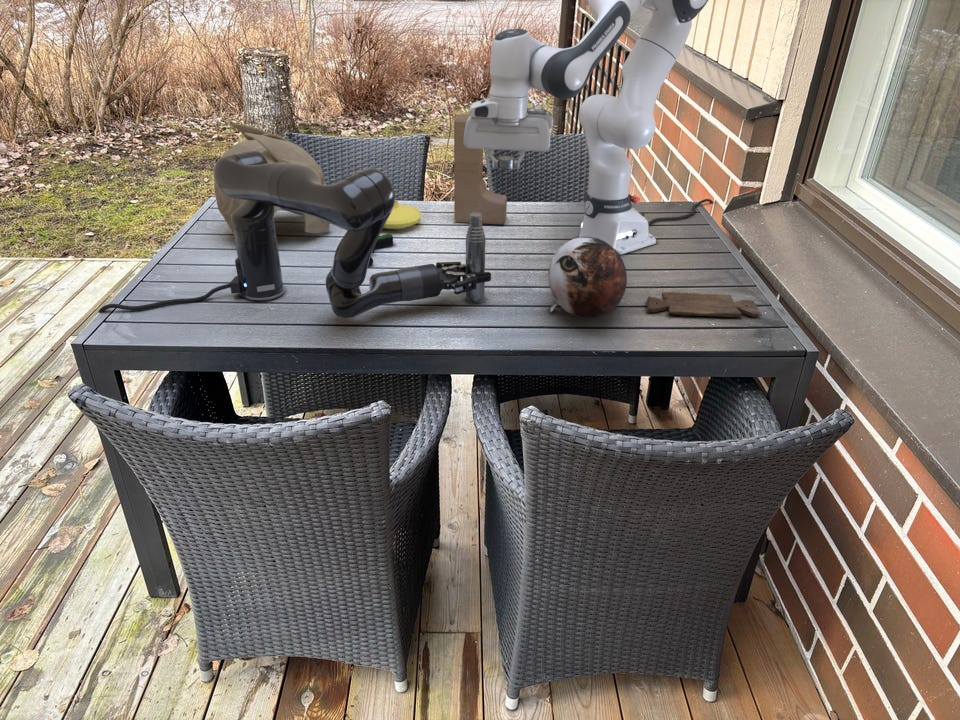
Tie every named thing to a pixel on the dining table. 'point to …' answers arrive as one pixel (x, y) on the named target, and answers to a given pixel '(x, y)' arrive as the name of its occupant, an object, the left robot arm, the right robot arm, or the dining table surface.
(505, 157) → the cap
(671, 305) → the dark wooden board
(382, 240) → the handgun
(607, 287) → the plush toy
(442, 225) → the dining table surface
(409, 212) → the yellow domed disc
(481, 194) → the decorative block
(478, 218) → the bottle
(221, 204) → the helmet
